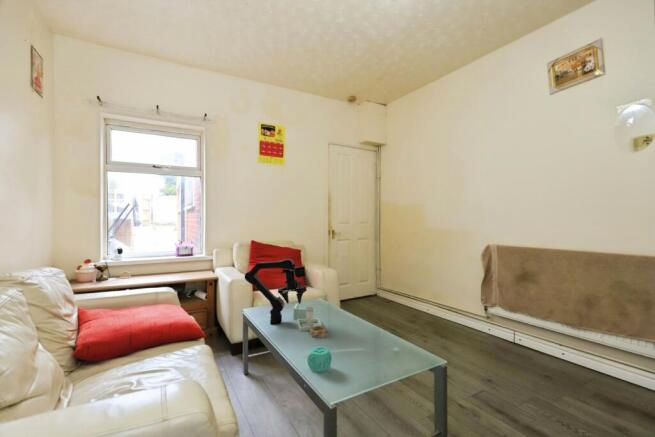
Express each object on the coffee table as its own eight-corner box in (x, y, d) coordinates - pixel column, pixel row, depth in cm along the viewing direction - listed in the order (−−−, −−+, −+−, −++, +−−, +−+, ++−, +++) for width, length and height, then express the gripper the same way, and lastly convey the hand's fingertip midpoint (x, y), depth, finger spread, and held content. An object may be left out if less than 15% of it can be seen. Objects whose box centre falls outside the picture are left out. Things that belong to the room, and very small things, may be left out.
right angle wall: (311, 321, 190) (311, 309, 190) (293, 320, 190) (293, 308, 190) (312, 314, 202) (313, 304, 202) (295, 314, 202) (296, 303, 202)
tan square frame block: (311, 339, 160) (312, 331, 160) (309, 332, 169) (309, 326, 168) (326, 338, 162) (326, 331, 162) (323, 332, 170) (323, 325, 170)
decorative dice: (306, 369, 129) (307, 351, 129) (317, 361, 135) (317, 344, 135) (321, 374, 124) (322, 356, 124) (331, 367, 131) (332, 349, 131)
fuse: (307, 327, 174) (308, 309, 174) (304, 325, 178) (305, 307, 178) (314, 326, 176) (314, 308, 176) (310, 324, 180) (311, 306, 180)
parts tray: (299, 332, 169) (299, 327, 169) (297, 323, 182) (297, 319, 182) (322, 331, 172) (322, 326, 172) (318, 322, 185) (318, 318, 185)
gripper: (309, 275, 185) (313, 299, 185) (286, 276, 194) (289, 299, 194) (299, 279, 175) (303, 305, 175) (275, 280, 184) (279, 304, 184)
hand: (293, 303), depth 182 cm, fingers open, 9 cm apart
